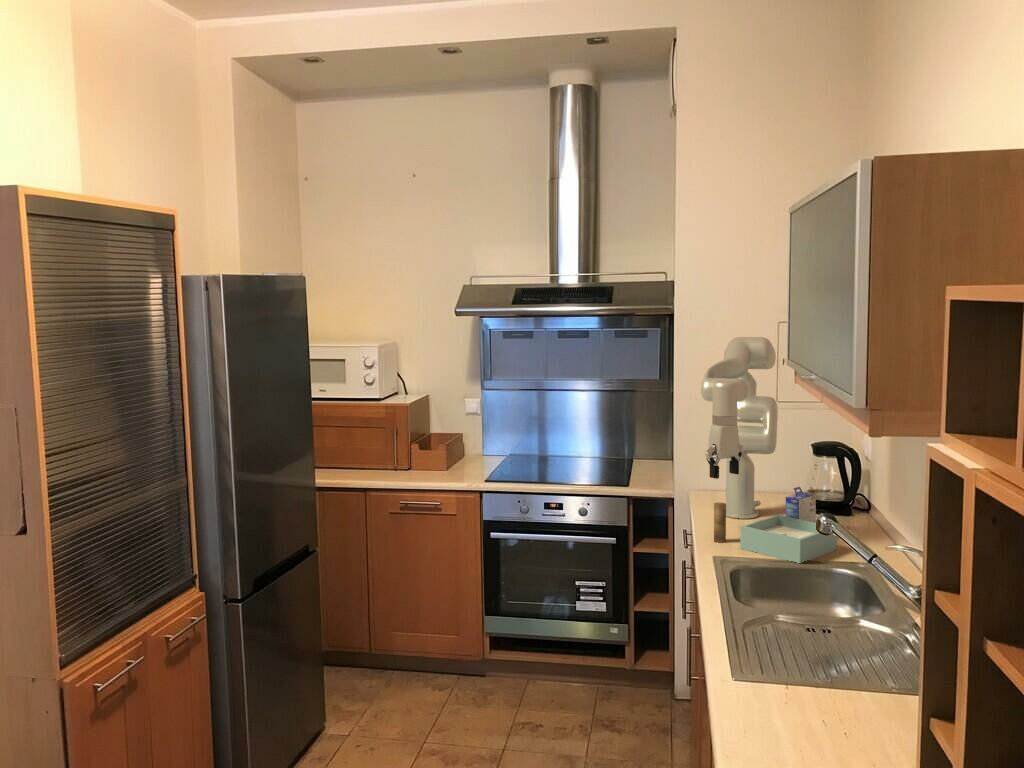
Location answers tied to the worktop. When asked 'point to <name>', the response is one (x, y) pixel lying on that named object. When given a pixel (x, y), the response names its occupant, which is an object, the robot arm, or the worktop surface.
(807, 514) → the ink cartridge box
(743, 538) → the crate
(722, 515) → the peg
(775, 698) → the worktop surface
